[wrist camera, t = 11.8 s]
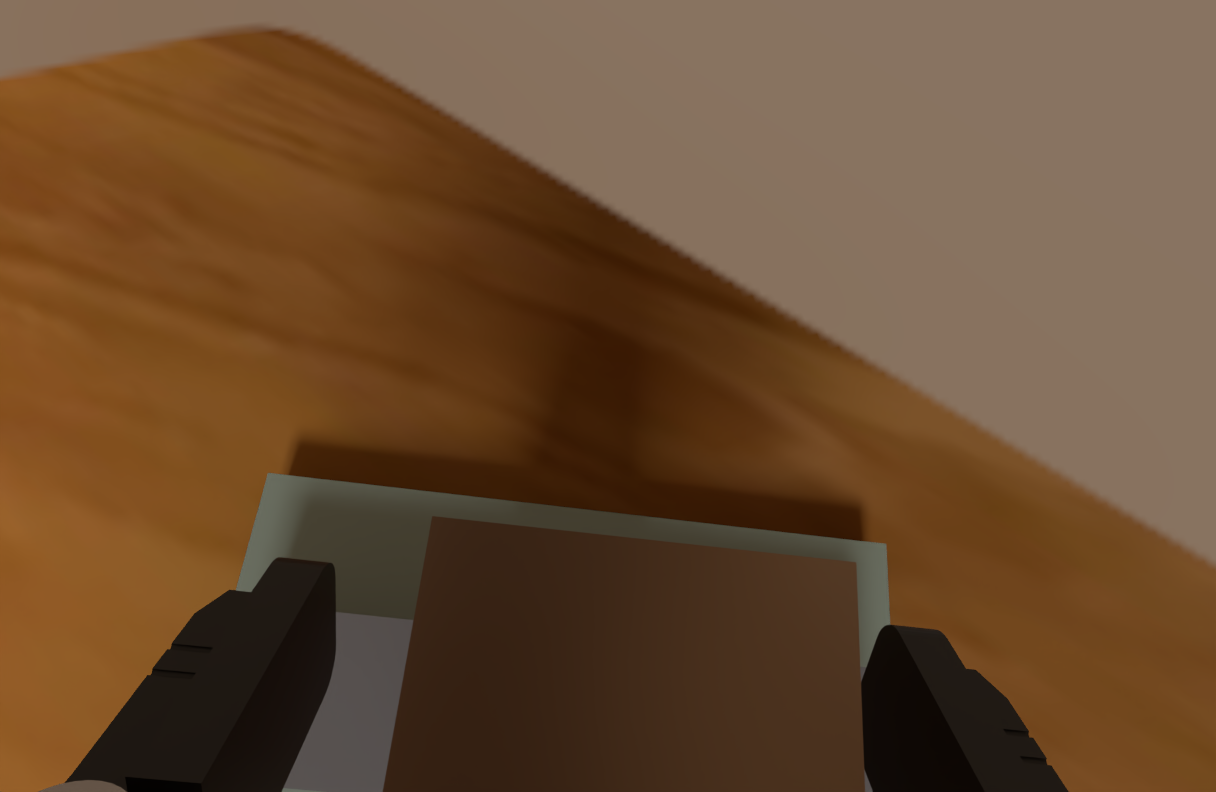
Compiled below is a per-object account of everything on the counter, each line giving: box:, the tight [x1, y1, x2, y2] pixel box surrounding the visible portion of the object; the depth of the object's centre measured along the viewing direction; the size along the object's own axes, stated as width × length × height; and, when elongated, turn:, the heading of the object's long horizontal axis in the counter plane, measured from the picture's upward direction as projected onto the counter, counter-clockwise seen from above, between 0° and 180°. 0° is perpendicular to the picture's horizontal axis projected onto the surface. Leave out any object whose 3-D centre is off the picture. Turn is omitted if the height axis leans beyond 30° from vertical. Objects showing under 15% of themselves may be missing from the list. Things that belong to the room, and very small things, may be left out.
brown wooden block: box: [383, 516, 865, 792], centre depth 11 cm, size 4×4×10 cm
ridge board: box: [236, 473, 890, 792], centre depth 18 cm, size 18×11×5 cm, turn 85°
